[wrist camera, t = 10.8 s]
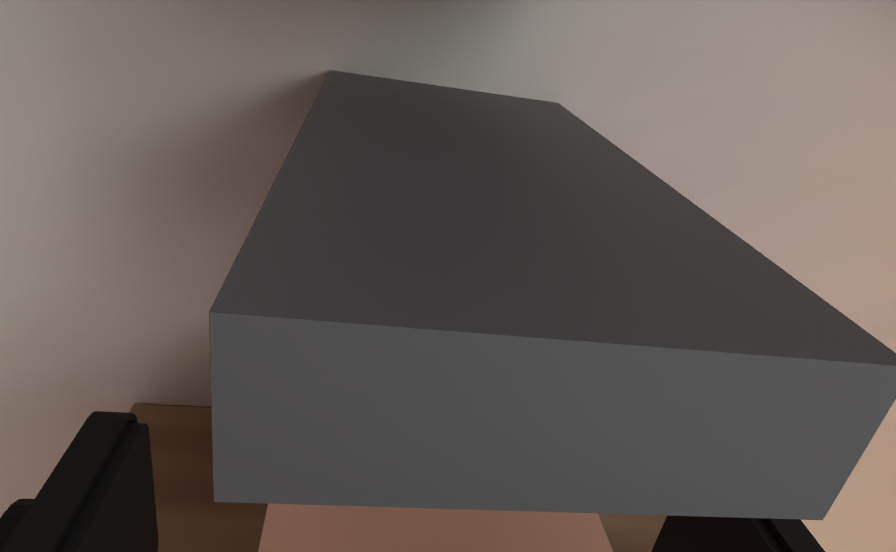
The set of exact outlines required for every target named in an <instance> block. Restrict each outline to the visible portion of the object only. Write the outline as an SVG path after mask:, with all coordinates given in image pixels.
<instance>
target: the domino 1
mask: <svg viewBox="0 0 896 552" xmlns="http://www.w3.org/2000/svg"><path fill="white" fill-rule="evenodd" d="M209 328H210V367H211V406H212V445H213V484H214V502H232V503H266V504H299V505H333V506H366V507H400V508H433V509H467V510H500V511H534V512H567V513H601V514H634V515H668V516H702V517H735V518H769V519H802V520H823V519H824V517H825V515H826V514H827V512H828V510H829V509H830V507H831V505H832V504H833V502H834V500H835V499H836V497H837V495H838V494H839V492H840V490H841V489H842V487H843V485H844V484H845V482H846V481H847V479H848V477H849V476H850V474H851V472H852V471H853V469H854V467H855V466H856V464H857V462H858V461H859V459H860V457H861V456H862V454H863V452H864V451H865V449H866V447H867V446H868V444H869V442H870V441H871V439H872V437H873V436H874V434H875V432H876V431H877V429H878V427H879V426H880V424H881V422H882V421H883V419H884V417H885V416H886V414H887V412H888V411H889V409H890V407H891V406H892V404H893V402H894V401H895V399H896V353H895V352H893V351H892V350H891V349H889V348H888V347H887V346H885V345H884V344H883V343H881V342H880V341H879V340H877V339H876V338H874V337H873V336H872V335H870V334H869V333H868V332H866V331H865V330H864V329H862V328H861V327H860V326H858V325H857V324H856V323H854V322H853V321H852V320H850V319H849V318H847V317H846V316H845V315H843V314H842V313H841V312H839V311H838V310H837V309H835V308H834V307H833V306H831V305H830V304H829V303H827V302H826V301H825V300H823V299H822V298H820V297H819V296H818V295H816V294H815V293H814V292H812V291H811V290H810V289H808V288H807V287H806V286H804V285H803V284H802V283H800V282H799V281H798V280H796V279H795V278H793V277H792V276H791V275H789V274H788V273H787V272H785V271H784V270H783V269H781V268H780V267H779V266H777V265H776V264H775V263H773V262H772V261H771V260H769V259H768V258H766V257H765V256H764V255H762V254H761V253H760V252H758V251H757V250H756V249H754V248H753V247H752V246H750V245H749V244H748V243H746V242H745V241H744V240H742V239H741V238H740V237H738V236H737V235H735V234H734V233H733V232H731V231H730V230H729V229H727V228H726V227H725V226H723V225H722V224H721V223H719V222H718V221H717V220H715V219H714V218H713V217H711V216H710V215H708V214H707V213H706V212H704V211H703V210H702V209H700V208H699V207H698V206H696V205H695V204H694V203H692V202H691V201H690V200H688V199H687V198H686V197H684V196H683V195H681V194H680V193H679V192H677V191H676V190H675V189H673V188H672V187H671V186H669V185H668V184H667V183H665V182H664V181H663V180H661V179H660V178H659V177H657V176H656V175H654V174H653V173H652V172H650V171H649V170H648V169H646V168H645V167H644V166H642V165H641V164H640V163H638V162H637V161H636V160H634V159H633V158H632V157H630V156H629V155H627V154H626V153H625V152H623V151H622V150H621V149H619V148H618V147H617V146H615V145H614V144H613V143H611V142H610V141H609V140H607V139H606V138H605V137H603V136H602V135H600V134H599V133H598V132H596V131H595V130H594V129H592V128H591V127H590V126H588V125H587V124H586V123H584V122H583V121H582V120H580V119H579V118H578V117H576V116H575V115H573V114H572V113H571V112H569V111H568V110H567V109H565V108H564V107H563V106H561V105H560V104H559V103H554V102H547V101H540V100H533V99H526V98H519V97H512V96H505V95H498V94H491V93H484V92H477V91H470V90H463V89H456V88H449V87H442V86H435V85H428V84H421V83H415V82H408V81H401V80H394V79H387V78H380V77H373V76H366V75H359V74H352V73H345V72H338V71H331V70H330V72H329V74H328V76H327V78H326V80H325V82H324V84H323V86H322V88H321V90H320V92H319V94H318V96H317V98H316V100H315V102H314V104H313V106H312V108H311V110H310V112H309V114H308V116H307V118H306V120H305V122H304V124H303V126H302V128H301V130H300V132H299V134H298V136H297V138H296V140H295V142H294V144H293V146H292V148H291V150H290V152H289V154H288V156H287V158H286V160H285V162H284V164H283V166H282V168H281V170H280V172H279V174H278V176H277V178H276V180H275V182H274V184H273V186H272V188H271V190H270V192H269V194H268V196H267V198H266V200H265V202H264V204H263V206H262V208H261V210H260V212H259V214H258V216H257V218H256V220H255V222H254V224H253V226H252V228H251V230H250V232H249V234H248V236H247V238H246V240H245V242H244V244H243V246H242V248H241V250H240V252H239V254H238V256H237V258H236V260H235V262H234V264H233V266H232V268H231V270H230V272H229V274H228V276H227V278H226V280H225V282H224V284H223V286H222V288H221V290H220V292H219V294H218V296H217V298H216V300H215V302H214V304H213V306H212V307H211V309H210V311H209Z"/></svg>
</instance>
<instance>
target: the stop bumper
mask: <svg viewBox="0 0 896 552" xmlns="http://www.w3.org/2000/svg"><path fill="white" fill-rule="evenodd" d="M129 413H133V414H135V415H136V417H137V421H138V423H146V424H147V425H148V427H149V434H150V446H151V458H152V469H153V481H154V493H155V504H156V516H157V528H158V540H159V544H158V552H258V550H259V545H260V540H261V535H262V531H263V526H264V521H265V516H266V512H267V507H268V504H266V503H232V502H214V484H213V445H212V408H207V407H188V406H169V405H151V404H134V405H133V407H132V409H131V410H130V412H129ZM598 515H599V517H600V520H601V522H602V525H603V527H604V530H605V532H606V535H607V537H608V540H609V542H610V545H611V547H612V550H613V552H652V549H653V546H654V544H655V542H656V540H657V537H658V535H659V533H660V530H661V528H662V526H663V524H664V521H665V519H666V517H667V515H634V514H601V513H598Z"/></svg>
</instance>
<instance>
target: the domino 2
mask: <svg viewBox="0 0 896 552" xmlns="http://www.w3.org/2000/svg"><path fill="white" fill-rule="evenodd" d="M258 552H613V550H612V547H611V545H610V542H609V540H608V537H607V535H606V532H605V530H604V527H603V525H602V522H601V520H600V517H599V515H598V513H567V512H534V511H500V510H467V509H433V508H400V507H366V506H333V505H299V504H268V507H267V512H266V516H265V521H264V526H263V531H262V535H261V540H260V545H259V550H258Z"/></svg>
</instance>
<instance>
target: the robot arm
mask: <svg viewBox="0 0 896 552" xmlns="http://www.w3.org/2000/svg"><path fill="white" fill-rule="evenodd" d="M158 544H159V540H158V528H157V516H156V504H155V493H154V481H153V469H152V458H151V446H150V434H149V427H148V425H147V424H146V423H138V421H137V417H136V415H135V414H133V413H120V412H100V411H95V412H93V413H91V415H90V416H89V417H88V418H87V420H86V421H85V423H84V424H83V426H82V427H81V429H80V430H79V432H78V433H77V435H76V437H75V438H74V440H73V441H72V443H71V444H70V446H69V447H68V449H67V450H66V452H65V453H64V455H63V456H62V458H61V460H60V461H59V463H58V464H57V466H56V467H55V469H54V470H53V472H52V473H51V475H50V476H49V478H48V479H47V481H46V482H45V484H44V486H43V487H42V489H41V490H40V492H39V493H38V495H37V496H36V498H35V499H19V500H17V501H16V502H14V503H13V504H11V505H10V507H9V508H8V509H7V510H6V511H5V513H4V514H3V515H2V517H1V518H0V552H158ZM652 552H825V551H824V550H823V548H822V547H821V546H820V545H819V543H818V542H817V541H816V539H815V538H814V537H813V535H812V534H811V533H810V532H809V530H808V529H807V528H806V526H805V525H804V524H803V522H802V521H801V520H800V519H769V518H735V517H702V516H668V515H667V517H666V519H665V521H664V524H663V526H662V528H661V530H660V533H659V535H658V537H657V540H656V542H655V544H654V546H653V549H652Z"/></svg>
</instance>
